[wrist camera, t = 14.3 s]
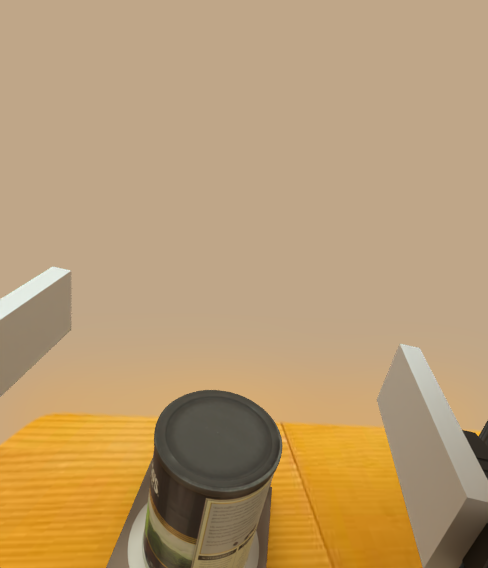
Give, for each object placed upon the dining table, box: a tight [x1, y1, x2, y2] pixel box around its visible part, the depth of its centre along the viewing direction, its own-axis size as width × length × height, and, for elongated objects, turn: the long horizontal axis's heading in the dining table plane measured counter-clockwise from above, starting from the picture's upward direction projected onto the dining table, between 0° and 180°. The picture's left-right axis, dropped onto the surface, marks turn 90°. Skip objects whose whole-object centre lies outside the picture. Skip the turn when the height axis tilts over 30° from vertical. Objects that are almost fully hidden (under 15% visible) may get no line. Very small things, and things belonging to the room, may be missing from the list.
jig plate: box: [106, 458, 272, 568], centre depth 38 cm, size 14×16×4 cm
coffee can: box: [142, 390, 282, 568], centre depth 35 cm, size 10×10×14 cm
